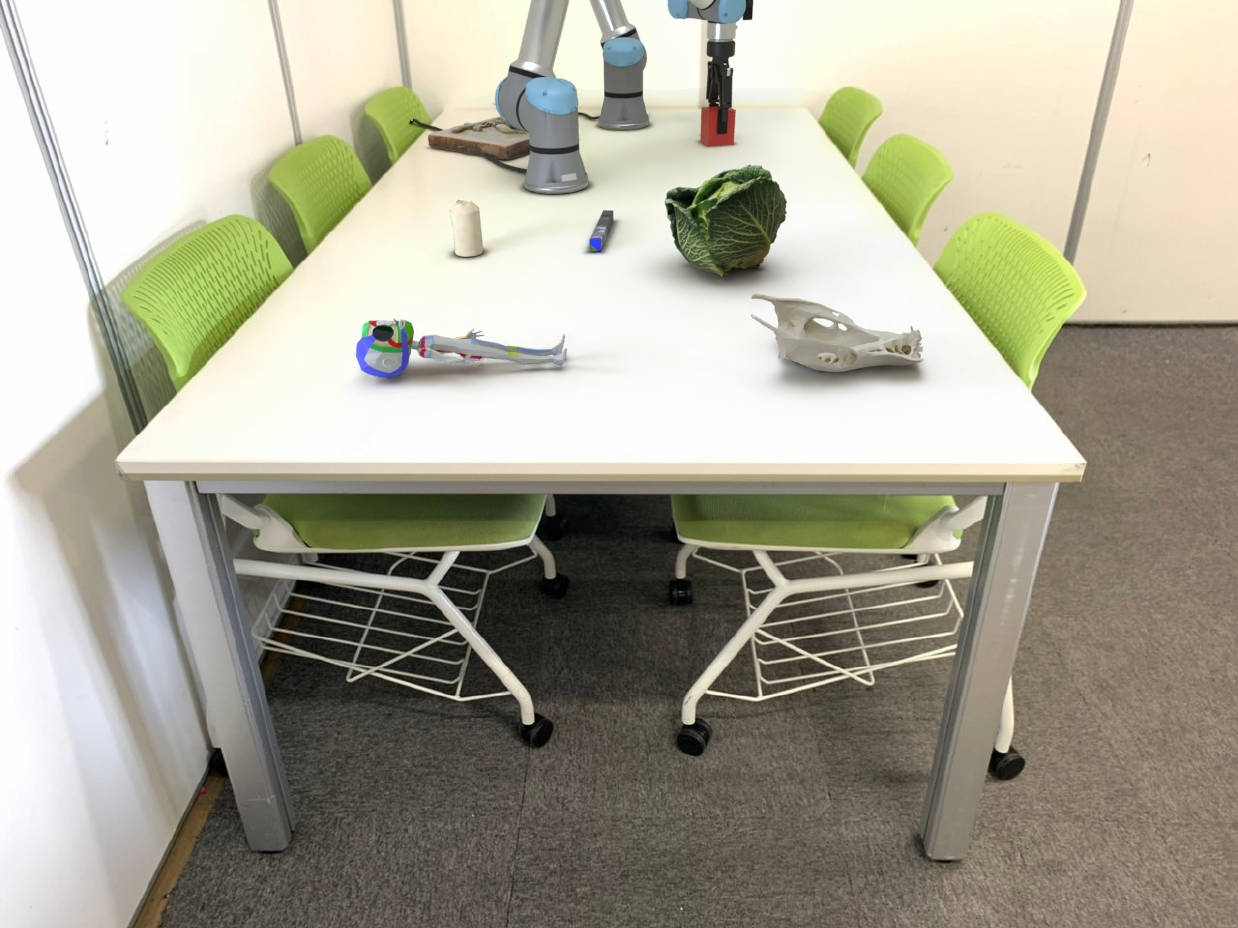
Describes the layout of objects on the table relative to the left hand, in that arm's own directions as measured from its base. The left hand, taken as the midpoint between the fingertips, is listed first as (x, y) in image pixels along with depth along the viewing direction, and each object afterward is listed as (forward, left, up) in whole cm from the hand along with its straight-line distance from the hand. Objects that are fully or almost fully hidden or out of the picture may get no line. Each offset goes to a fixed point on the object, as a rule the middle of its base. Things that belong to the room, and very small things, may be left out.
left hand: (717, 131), depth 249 cm
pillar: (+34, -79, -3) cm, 86 cm away
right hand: (-18, +31, +25) cm, 44 cm away
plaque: (-45, -40, -3) cm, 60 cm away
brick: (0, 0, -3) cm, 3 cm away
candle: (+22, -104, -3) cm, 106 cm away
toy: (+62, -136, -3) cm, 149 cm away
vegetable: (+64, -77, -3) cm, 101 cm away
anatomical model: (+101, -98, -3) cm, 141 cm away
